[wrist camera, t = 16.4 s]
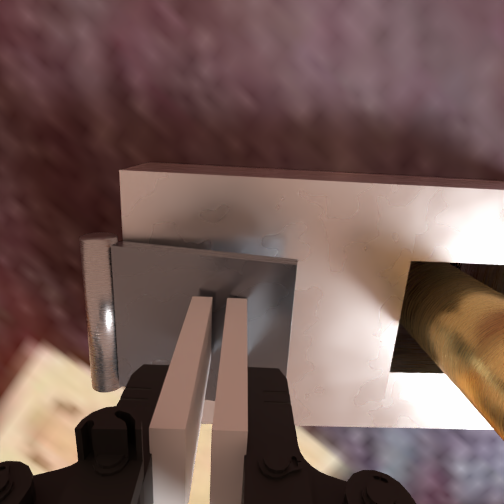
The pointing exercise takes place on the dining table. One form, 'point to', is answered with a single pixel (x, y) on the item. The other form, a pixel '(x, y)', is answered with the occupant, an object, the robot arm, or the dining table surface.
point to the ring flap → (178, 304)
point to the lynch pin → (459, 332)
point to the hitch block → (336, 272)
